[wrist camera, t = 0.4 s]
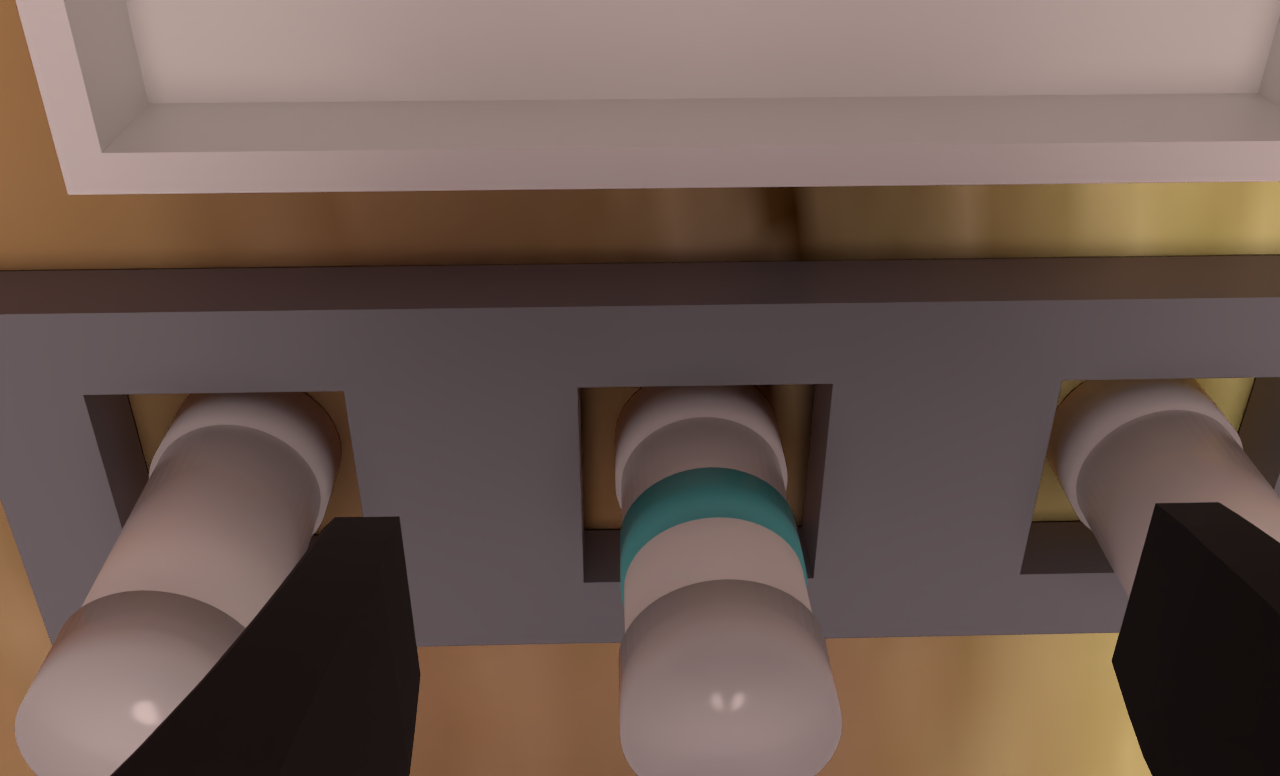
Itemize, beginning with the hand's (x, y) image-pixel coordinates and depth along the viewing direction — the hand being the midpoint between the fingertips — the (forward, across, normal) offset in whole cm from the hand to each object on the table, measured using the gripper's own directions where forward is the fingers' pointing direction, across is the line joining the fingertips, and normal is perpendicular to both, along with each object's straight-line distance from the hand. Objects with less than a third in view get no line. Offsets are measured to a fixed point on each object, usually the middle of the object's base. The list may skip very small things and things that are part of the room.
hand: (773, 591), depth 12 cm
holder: (+10, 0, +5) cm, 11 cm away
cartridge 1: (+10, +8, +5) cm, 13 cm away
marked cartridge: (+10, 0, +5) cm, 11 cm away
